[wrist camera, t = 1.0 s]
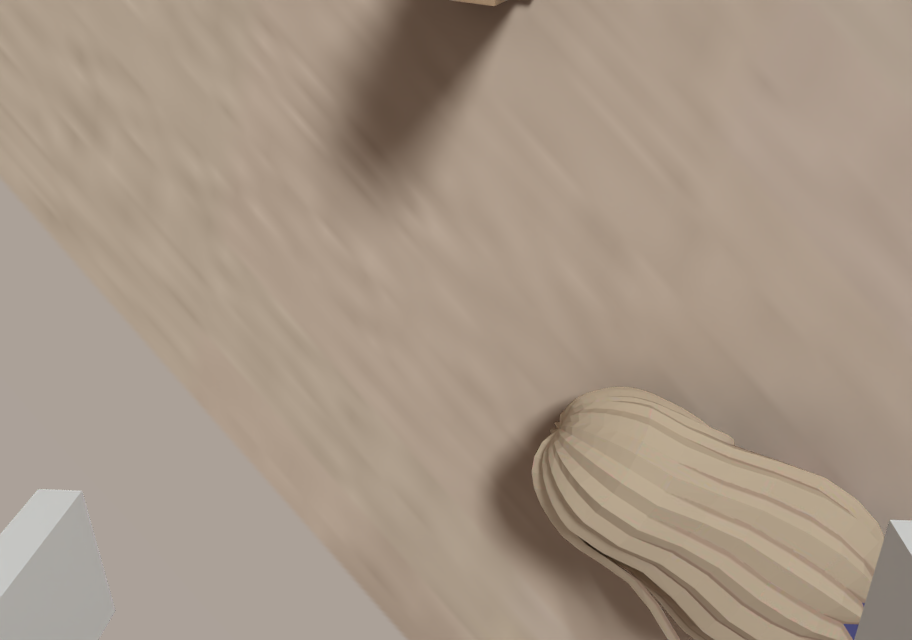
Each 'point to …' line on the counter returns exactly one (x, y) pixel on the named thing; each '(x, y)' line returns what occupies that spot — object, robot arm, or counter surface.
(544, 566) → the counter surface
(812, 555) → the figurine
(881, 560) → the robot arm
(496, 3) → the wooden post on plate
